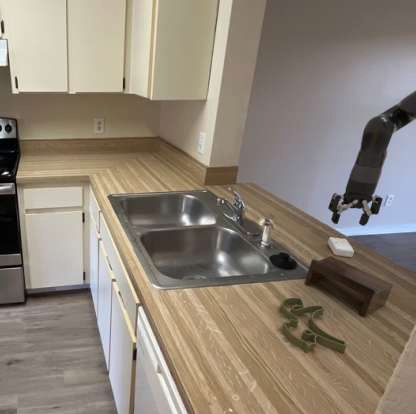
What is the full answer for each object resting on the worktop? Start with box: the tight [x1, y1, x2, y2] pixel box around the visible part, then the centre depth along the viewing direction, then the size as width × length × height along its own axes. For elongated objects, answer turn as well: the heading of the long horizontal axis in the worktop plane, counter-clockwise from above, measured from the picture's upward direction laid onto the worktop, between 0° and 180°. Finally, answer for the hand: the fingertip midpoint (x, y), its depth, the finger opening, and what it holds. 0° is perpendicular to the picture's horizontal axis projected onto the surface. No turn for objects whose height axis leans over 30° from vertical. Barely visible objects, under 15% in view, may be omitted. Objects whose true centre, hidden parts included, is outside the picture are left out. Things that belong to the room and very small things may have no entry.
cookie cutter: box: [280, 297, 347, 354], centre depth 82 cm, size 18×12×2 cm, turn 168°
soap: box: [327, 236, 355, 258], centre depth 116 cm, size 9×6×3 cm, turn 160°
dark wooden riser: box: [304, 255, 394, 318], centre depth 93 cm, size 10×16×8 cm, turn 27°
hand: (348, 223), depth 112 cm, fingers open, 8 cm apart
